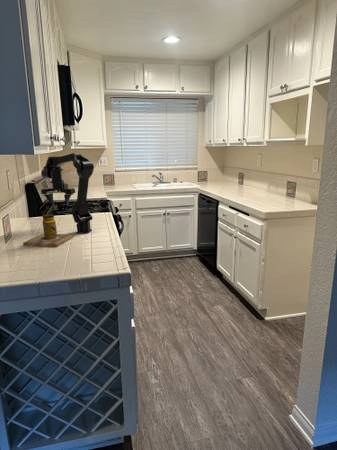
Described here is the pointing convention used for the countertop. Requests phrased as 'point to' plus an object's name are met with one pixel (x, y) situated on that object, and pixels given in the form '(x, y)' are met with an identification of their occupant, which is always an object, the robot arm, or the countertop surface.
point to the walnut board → (48, 241)
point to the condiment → (49, 228)
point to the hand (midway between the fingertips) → (59, 205)
